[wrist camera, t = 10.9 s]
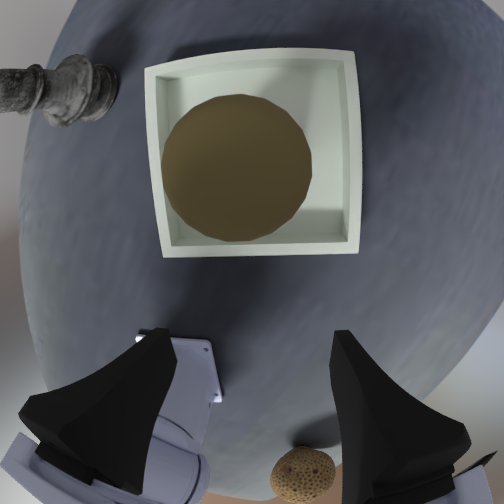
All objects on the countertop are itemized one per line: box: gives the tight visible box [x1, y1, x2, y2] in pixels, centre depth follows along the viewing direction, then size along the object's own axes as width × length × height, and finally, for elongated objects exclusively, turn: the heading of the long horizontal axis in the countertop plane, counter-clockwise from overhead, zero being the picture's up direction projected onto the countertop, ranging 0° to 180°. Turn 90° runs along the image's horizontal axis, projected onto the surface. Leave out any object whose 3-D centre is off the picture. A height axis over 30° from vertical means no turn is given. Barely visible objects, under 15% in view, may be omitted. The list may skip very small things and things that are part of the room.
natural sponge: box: [270, 446, 335, 504], centre depth 27 cm, size 9×9×10 cm
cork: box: [161, 94, 312, 242], centre depth 13 cm, size 6×6×11 cm
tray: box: [145, 48, 362, 258], centre depth 17 cm, size 14×14×2 cm
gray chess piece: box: [0, 54, 117, 128], centre depth 11 cm, size 6×6×12 cm
